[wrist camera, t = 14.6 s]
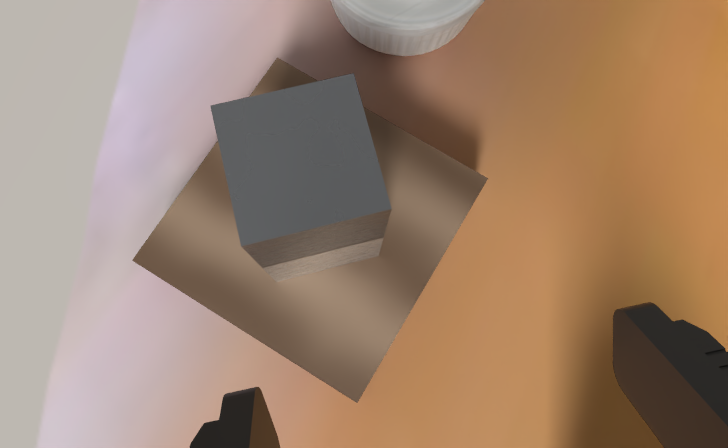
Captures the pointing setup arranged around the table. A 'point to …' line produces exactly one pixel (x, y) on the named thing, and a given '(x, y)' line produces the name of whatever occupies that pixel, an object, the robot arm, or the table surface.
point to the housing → (303, 177)
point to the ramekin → (404, 23)
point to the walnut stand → (327, 287)
